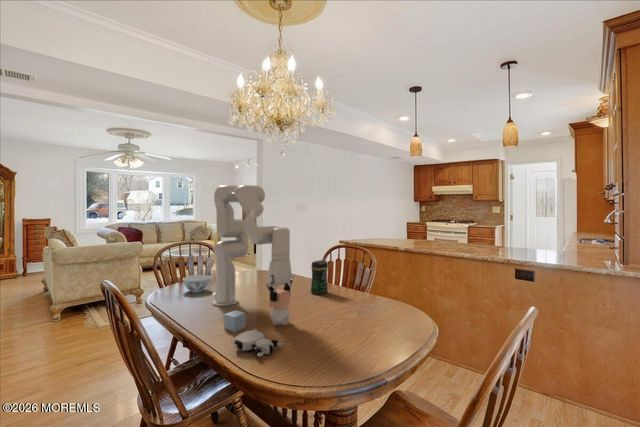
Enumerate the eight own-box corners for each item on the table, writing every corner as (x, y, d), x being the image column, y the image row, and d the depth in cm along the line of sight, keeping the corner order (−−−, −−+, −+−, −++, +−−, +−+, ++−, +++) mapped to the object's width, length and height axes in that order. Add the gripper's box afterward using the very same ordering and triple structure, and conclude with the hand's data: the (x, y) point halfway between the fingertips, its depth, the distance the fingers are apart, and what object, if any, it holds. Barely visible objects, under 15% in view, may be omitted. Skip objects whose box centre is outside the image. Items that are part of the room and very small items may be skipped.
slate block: (224, 328, 128) (224, 314, 128) (235, 324, 133) (235, 310, 133) (234, 332, 125) (234, 317, 125) (245, 327, 130) (245, 313, 129)
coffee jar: (319, 295, 176) (319, 262, 175) (308, 293, 180) (308, 260, 180) (330, 292, 183) (330, 260, 183) (319, 289, 188) (319, 258, 188)
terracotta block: (269, 306, 133) (269, 292, 132) (278, 302, 138) (278, 289, 137) (280, 309, 129) (280, 294, 129) (289, 305, 134) (289, 291, 134)
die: (281, 331, 128) (294, 309, 131) (263, 319, 129) (277, 298, 132) (283, 330, 136) (295, 310, 138) (266, 319, 137) (279, 299, 140)
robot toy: (284, 351, 111) (253, 337, 119) (284, 338, 111) (254, 326, 119) (258, 365, 101) (227, 350, 109) (259, 352, 100) (227, 337, 109)
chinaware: (178, 290, 184) (178, 277, 184) (204, 286, 194) (204, 273, 194) (188, 296, 173) (188, 282, 173) (214, 291, 183) (214, 278, 183)
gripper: (287, 253, 142) (286, 292, 143) (259, 259, 128) (259, 302, 128) (300, 255, 138) (300, 295, 139) (273, 261, 124) (273, 305, 124)
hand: (280, 298), depth 134 cm, fingers open, 8 cm apart
